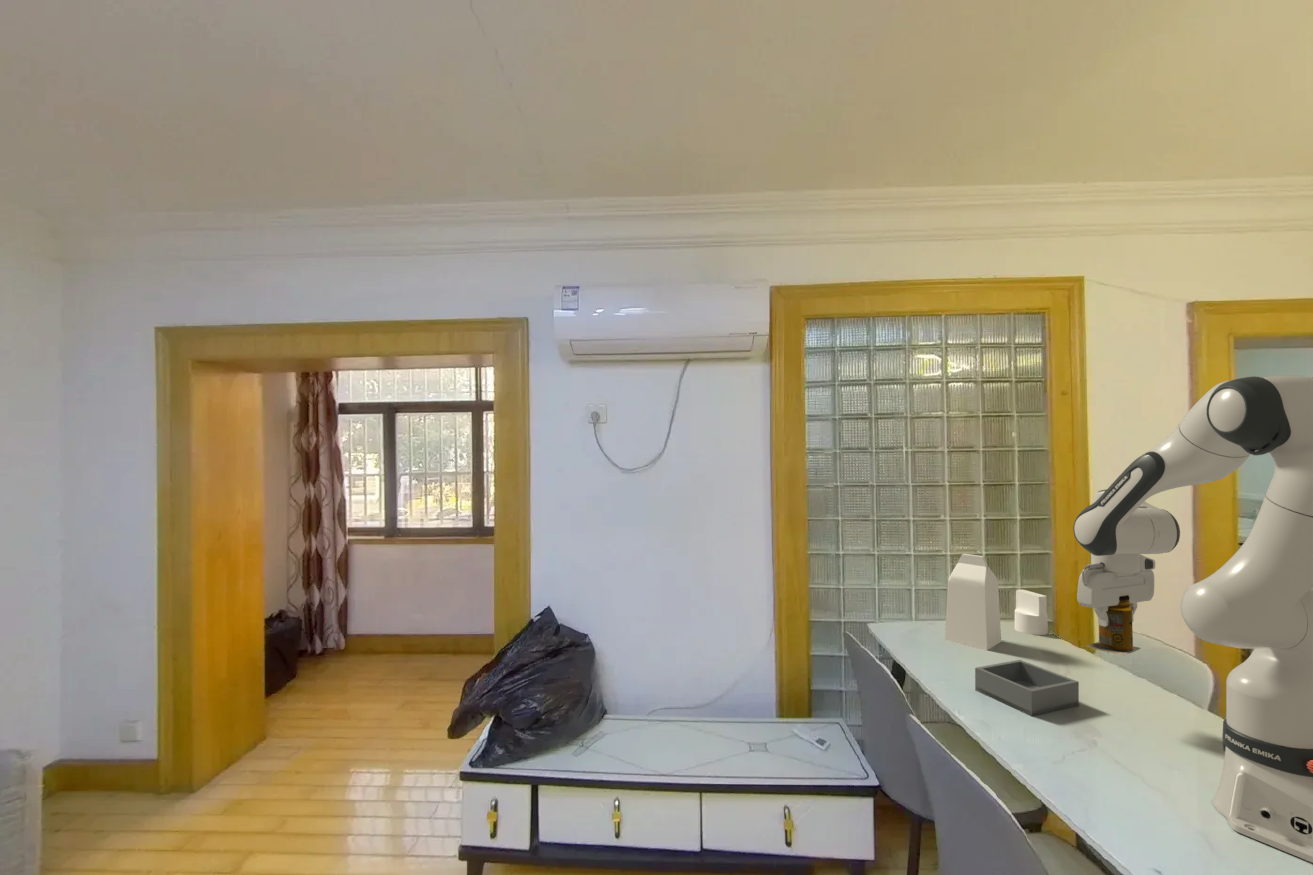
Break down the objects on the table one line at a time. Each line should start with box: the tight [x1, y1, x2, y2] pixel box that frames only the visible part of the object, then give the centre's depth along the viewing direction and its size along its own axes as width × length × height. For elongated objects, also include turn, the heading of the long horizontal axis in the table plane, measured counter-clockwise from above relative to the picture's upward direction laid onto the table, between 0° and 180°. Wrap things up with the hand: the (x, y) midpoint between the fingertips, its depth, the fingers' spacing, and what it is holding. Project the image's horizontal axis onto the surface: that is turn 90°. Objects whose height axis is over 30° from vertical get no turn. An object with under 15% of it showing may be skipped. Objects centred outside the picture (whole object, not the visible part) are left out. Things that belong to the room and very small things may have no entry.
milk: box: [944, 553, 1002, 651], centre depth 187 cm, size 12×12×26 cm
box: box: [974, 659, 1080, 717], centre depth 147 cm, size 15×15×6 cm
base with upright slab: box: [1014, 589, 1049, 636], centre depth 197 cm, size 9×9×12 cm
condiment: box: [1086, 595, 1142, 657], centre depth 137 cm, size 7×8×12 cm
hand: (1115, 623), depth 137 cm, fingers closed on condiment, 6 cm apart
